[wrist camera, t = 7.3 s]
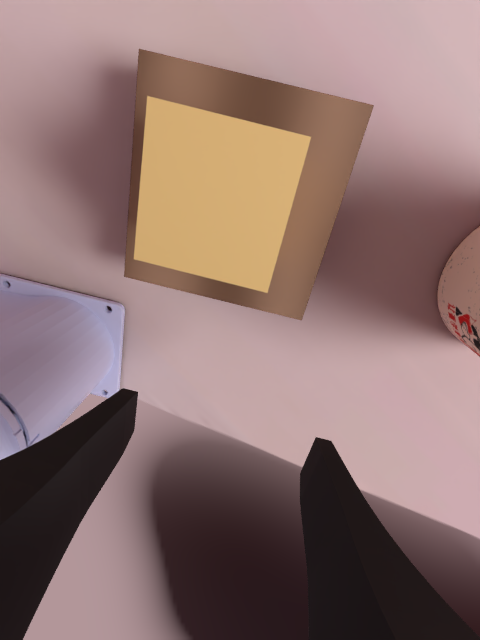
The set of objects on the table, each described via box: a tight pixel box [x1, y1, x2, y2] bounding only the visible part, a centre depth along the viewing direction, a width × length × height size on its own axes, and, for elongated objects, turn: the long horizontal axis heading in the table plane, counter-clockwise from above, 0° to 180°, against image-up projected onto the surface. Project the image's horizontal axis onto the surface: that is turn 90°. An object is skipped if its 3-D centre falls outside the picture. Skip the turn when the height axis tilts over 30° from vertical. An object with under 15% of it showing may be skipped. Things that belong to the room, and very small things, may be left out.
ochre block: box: [134, 96, 311, 293], centre depth 12 cm, size 5×5×5 cm
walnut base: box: [124, 49, 374, 320], centre depth 16 cm, size 10×10×3 cm
